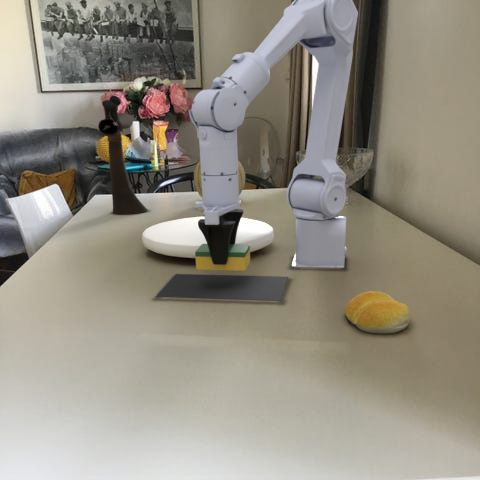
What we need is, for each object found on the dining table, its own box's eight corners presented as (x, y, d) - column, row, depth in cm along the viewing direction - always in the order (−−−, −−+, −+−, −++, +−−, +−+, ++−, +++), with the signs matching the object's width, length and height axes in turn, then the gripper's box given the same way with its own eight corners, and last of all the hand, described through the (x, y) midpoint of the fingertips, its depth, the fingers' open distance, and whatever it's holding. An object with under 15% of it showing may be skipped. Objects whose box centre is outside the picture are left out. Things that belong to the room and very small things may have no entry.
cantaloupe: (256, 202, 164) (255, 148, 158) (220, 210, 154) (217, 153, 148) (220, 197, 173) (218, 146, 168) (184, 204, 164) (180, 151, 158)
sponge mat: (288, 279, 97) (288, 276, 97) (280, 303, 87) (280, 300, 86) (176, 276, 101) (175, 273, 101) (155, 299, 90) (155, 296, 90)
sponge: (250, 261, 94) (249, 244, 93) (245, 270, 89) (244, 252, 88) (203, 260, 95) (202, 243, 94) (196, 269, 91) (195, 251, 89)
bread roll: (370, 340, 73) (372, 311, 72) (336, 316, 81) (337, 290, 80) (423, 329, 76) (426, 301, 74) (385, 307, 84) (387, 282, 82)
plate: (167, 211, 131) (282, 214, 125) (168, 240, 132) (281, 243, 127) (119, 226, 104) (261, 230, 99) (121, 261, 106) (261, 266, 101)
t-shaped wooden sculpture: (120, 202, 171) (108, 95, 160) (152, 200, 171) (142, 94, 160) (104, 224, 142) (88, 96, 131) (142, 223, 142) (129, 95, 131)
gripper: (205, 167, 94) (209, 246, 99) (181, 180, 81) (188, 271, 86) (246, 166, 93) (249, 247, 98) (230, 180, 80) (233, 272, 85)
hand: (223, 259), depth 92 cm, fingers closed on sponge, 5 cm apart
